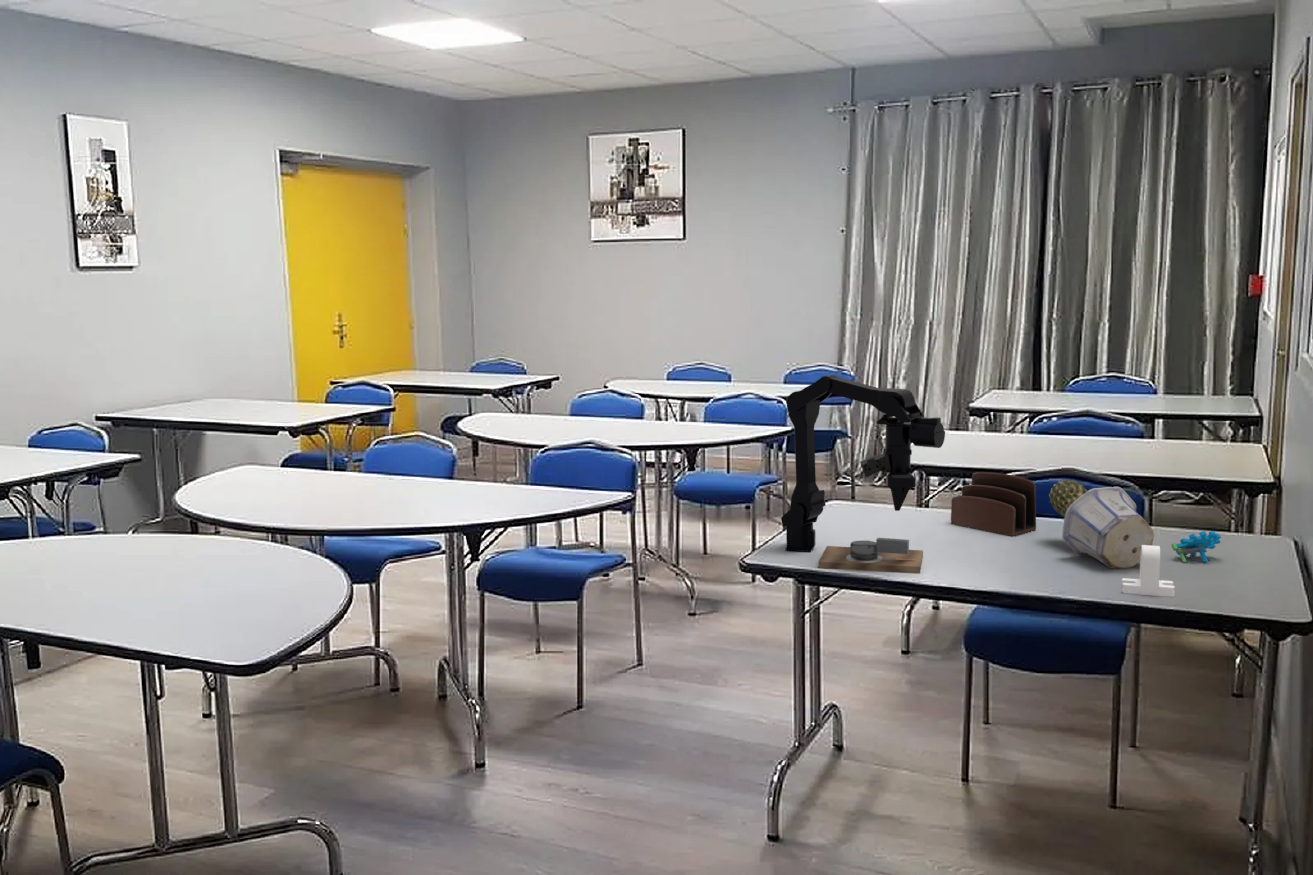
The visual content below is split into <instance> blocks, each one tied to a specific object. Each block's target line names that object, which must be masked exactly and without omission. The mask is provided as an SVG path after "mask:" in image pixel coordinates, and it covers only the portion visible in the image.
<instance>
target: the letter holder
mask: <svg viewBox="0 0 1313 875" xmlns="http://www.w3.org/2000/svg"><path fill="white" fill-rule="evenodd" d="M950 504H951V507H950V508H951V509H950V524H951V525H953V524H954V526H959V527H964V528H968V527H969V529H973V530H978V531H984V532H988V531H989V533H994V534H998V533H999V534H998V535H1003V536H1009V537H1013V536H1015V537H1018V536H1023V535H1025V533H1026V534H1028V532H1029V533H1032V532H1031V531H1033V532H1035V531H1036V530H1037V485H1036V483H1035V481H1033V480H1031V479H1028V478H1024V477H1021V476H1018V475H1012V474H1008V473H1000V472H987V471H983V472H981V471H977V472H973V473H972V475H971V484H964V485H963V486H962V488H961V495H953V496H952V498H951V503H950Z"/></svg>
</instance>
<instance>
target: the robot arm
mask: <svg viewBox="0 0 1313 875" xmlns="http://www.w3.org/2000/svg"><path fill="white" fill-rule="evenodd" d="M831 395H835V396H839V397H842V398H845V399H846V398H847V399H848V400H853V401H856V402H860V403H864V404H868V405H870V406H871V407H874V408H875V409H876V411H879V412H881V413H883V415H882V416H881V418H880V419H878V420H876V424H877V425H882V426H883V425H884V426H885V446H884V448H883V450H882V452H883V453H881V454H877V455H874V456H872V457H869V458H866V459H863V460H861V461H860V462H859V463H860V466H861V468H862V471H863V474H864V477H865V478H867V477H871V476H872V475H874V474H877V473H880V474H881V475H885V474H886V476H885V478H883V481H884V483H885V485H886V487H887V488H889V489H890V492H891V493H890V494H891V497H892V498H891V499H892V503H893V509H894V511H895V512H896V511H897V512H898V511H899V512H900V510H902V506H903V504H904V502H905V499H906V498H907V495H908V493H909V492H910V489H911V488H916V484H917V482H916V480H917V479H916V477H915V475H913V474H912V467H911V460H912V459H911V458H912V457H911V456H912V452H913V451H912V448H911V447H912V446H911V445H912V444H913V446H915V447H922V448H933V449H935V448H937V449H940V448H942V446H943V445H944V442H945V439H946V438H945V437H946V431H945V428H944V425H943V423H942V418H941V417H937V416H936V417H925V414H924V413H923V412H922V411H921V409H920V408H919V406H918V404H917V403H916V400H915V396H914V395H913V392H911V390H909V389H904V388H893V387H892V388H891V387H889V388H883V387H876V386H872V385H869V384H864V383H861V382H859V381H858V382H857V381H853V380H851V379H846V378H843V377H839V376H837V375H835V374H829V375H824V376H823V375H822V376H821V377H820V378H819V379H817V380H815V382H813V383H811V384H809V385H807V386H805V387H804V388H803V389H801V390H797V391H793V392H792V393H790V394H789V395H788V396H787V397H786V409H787V414H788V418H789V419H790V421H791V422H790V423H792V426H793V429H794V451H795V452H794V457H795V458H794V459H795V462H794V463H795V487H794V488H793V489H794V490H793V492H792V494H791V497H790V504H789V505H790V506H789V510H788V511H786V513H784V514H783V515H782V516H781V517H780V521H781V524H782V526H783V527H785V528H786V529H785V530H786V531H785V532H786V535H785V536H786V538H785V539H786V546H785V548H784V550H785V551H787V550H790V552H810V553H811V552H812V551H813V549H814V548H815V546H816V529H815V528H814V523H817V521H818V518H819V516H820V515H821V514H822V513H823V511H824V507H826V506H827V504H826V502H825V489H822V490H821V489H820V488H819V486H818V484H817V481H816V452H815V450H816V449H815V448H816V446H815V425H816V423H817V419H818V418H819V414H820V409H821V403H822V402H823V401H825V400H827V398H829V397H830V396H831ZM911 443H912V444H911Z"/></svg>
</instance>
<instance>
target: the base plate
mask: <svg viewBox="0 0 1313 875" xmlns="http://www.w3.org/2000/svg"><path fill="white" fill-rule="evenodd" d="M923 558H924V549H909V553H908V554H896V553H883V552H878V558H876V559H871V560H859V559H854V558H852V557H851V556H850V546H836V545H833V546H832V545H826V547H825V549H824V550H823V552H822V554H821V556H820V558H819V560H818V568H819V569H829V570H830V569H832V570H847V571H848V570H849V571H850V570H852V571H853V570H854V571H871V572H874V571H875V572H891V573H893V572H894V573H906V572H911V573H910V574H920V573H921V570H922V565H923V560H924V559H923Z"/></svg>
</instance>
